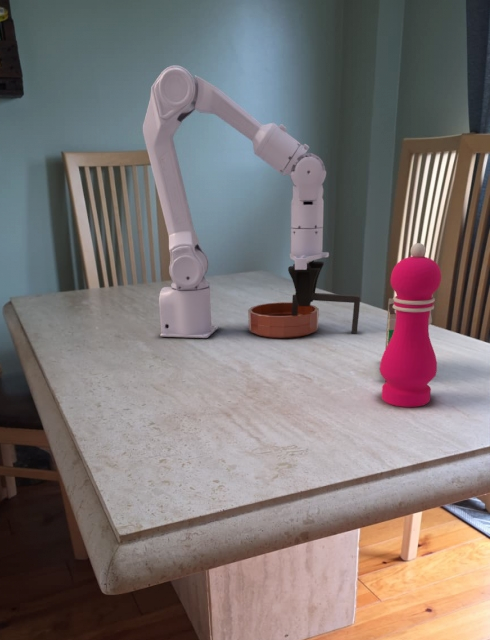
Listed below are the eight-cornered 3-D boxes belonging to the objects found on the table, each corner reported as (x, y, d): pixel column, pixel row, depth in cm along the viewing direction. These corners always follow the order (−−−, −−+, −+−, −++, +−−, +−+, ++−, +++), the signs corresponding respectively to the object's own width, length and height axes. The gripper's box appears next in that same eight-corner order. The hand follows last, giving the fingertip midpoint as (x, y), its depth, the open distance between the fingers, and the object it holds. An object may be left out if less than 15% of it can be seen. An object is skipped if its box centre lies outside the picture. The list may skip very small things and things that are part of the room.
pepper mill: (371, 392, 86) (380, 241, 78) (422, 389, 87) (436, 238, 79) (387, 410, 80) (399, 247, 72) (441, 407, 80) (460, 245, 72)
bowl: (242, 338, 116) (241, 315, 114) (257, 322, 128) (256, 301, 126) (312, 340, 113) (313, 317, 111) (321, 324, 125) (322, 302, 123)
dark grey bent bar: (269, 329, 119) (270, 293, 116) (274, 324, 123) (275, 288, 120) (356, 335, 115) (359, 298, 112) (357, 330, 119) (361, 293, 116)
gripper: (324, 231, 104) (322, 312, 110) (333, 223, 117) (331, 296, 123) (283, 231, 106) (283, 311, 111) (296, 224, 119) (295, 296, 124)
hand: (305, 303), depth 117 cm, fingers open, 3 cm apart
